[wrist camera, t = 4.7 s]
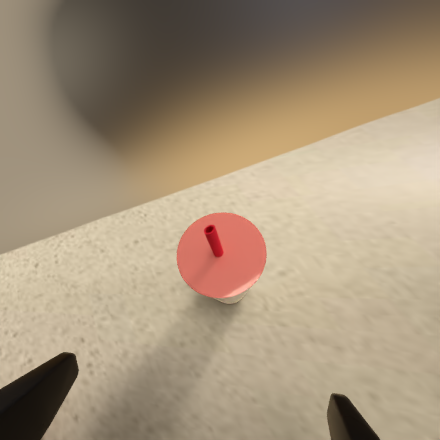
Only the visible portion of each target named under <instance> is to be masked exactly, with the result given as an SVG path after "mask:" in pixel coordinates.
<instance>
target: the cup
mask: <svg viewBox="0 0 440 440" xmlns="http://www.w3.org/2000/svg"><path fill="white" fill-rule="evenodd" d="M265 263H266V246H265V242H264V239H263V237H262V235H261V233H260V231H259V230H258V229H257V228H256V226H255V225H254V224H252V223H251V222H250V221H249V220H247V219H245V218H244V217H241V216H239V215H236V214H232V213H214V214H210V215H207V216H204V217H202V218H200V219H198V220H197V221H195V222H194V223H193V224H192V225H190V226H189V227H188V229H187V230H186V231H185V232H184V234H183V236H182V237H181V239H180V242H179V245H178V249H177V265H178V269H179V271H180V274H181V276H182V278H183V279H184V281H185V282H186V283H187V284H188V285H189V286H190V287H191V288H192V289H193V290H195V291H196V292H198V293H200V294H202V295H205V296H208V297H212V298H214V299H216V300H218V301H220V302H223V303H227V304H232V303H236V302H238V301H240V300H241V299H242V298H243V297H244V296H245V294H246V293H247V291H248V290H249V288H250V287H251V286H252V285H253V284H254V283H255V282H256V281H257V280H258V279H259V277H260V275H261V274H262V272H263V269H264V266H265Z"/></svg>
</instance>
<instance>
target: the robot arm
mask: <svg viewBox="0 0 440 440" xmlns="http://www.w3.org/2000/svg"><path fill="white" fill-rule="evenodd" d="M78 371H79V369H78V364H77V360H76V356H75V354H74V353H68V352H63V353H61V354H59V355H57V356H56V357H54V358H52V359H51V360H49V361H47V362H46V363H44V364H42V365H40V366H39V367H37V368H35V369H34V370H32V371H30V372H29V373H27V374H25V375H24V376H22V377H20V378H18V379H17V380H15V381H13V382H12V383H10V384H8V385H7V386H5V387H3V388H2V389H0V440H41V438H42V437H43V435H44V434H45V432H46V430H47V429H48V427H49V426H50V424H51V422H52V421H53V419H54V417H55V415H56V414H57V412H58V410H59V408H60V406H61V405H62V403H63V401H64V399H65V397H66V396H67V394H68V392H69V390H70V389H71V387H72V385H73V383H74V381H75V380H76V378H77V375H78ZM327 419H328V425H329V430H330V436H331V440H380V439H379V437H378V436H377V435H376V433H375V432H374V431H373V430H372V428H371V427H370V426H369V424H368V423H367V422H366V421H365V419H364V418H363V417H362V415H361V414H360V413H359V412H358V410H357V409H356V408H355V406H354V405H353V404H352V403H351V401H350V400H349V399H348V398H347V397H346V396H345V395H342V394H335V393H333V394H331V396H330V401H329V406H328V410H327Z"/></svg>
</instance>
